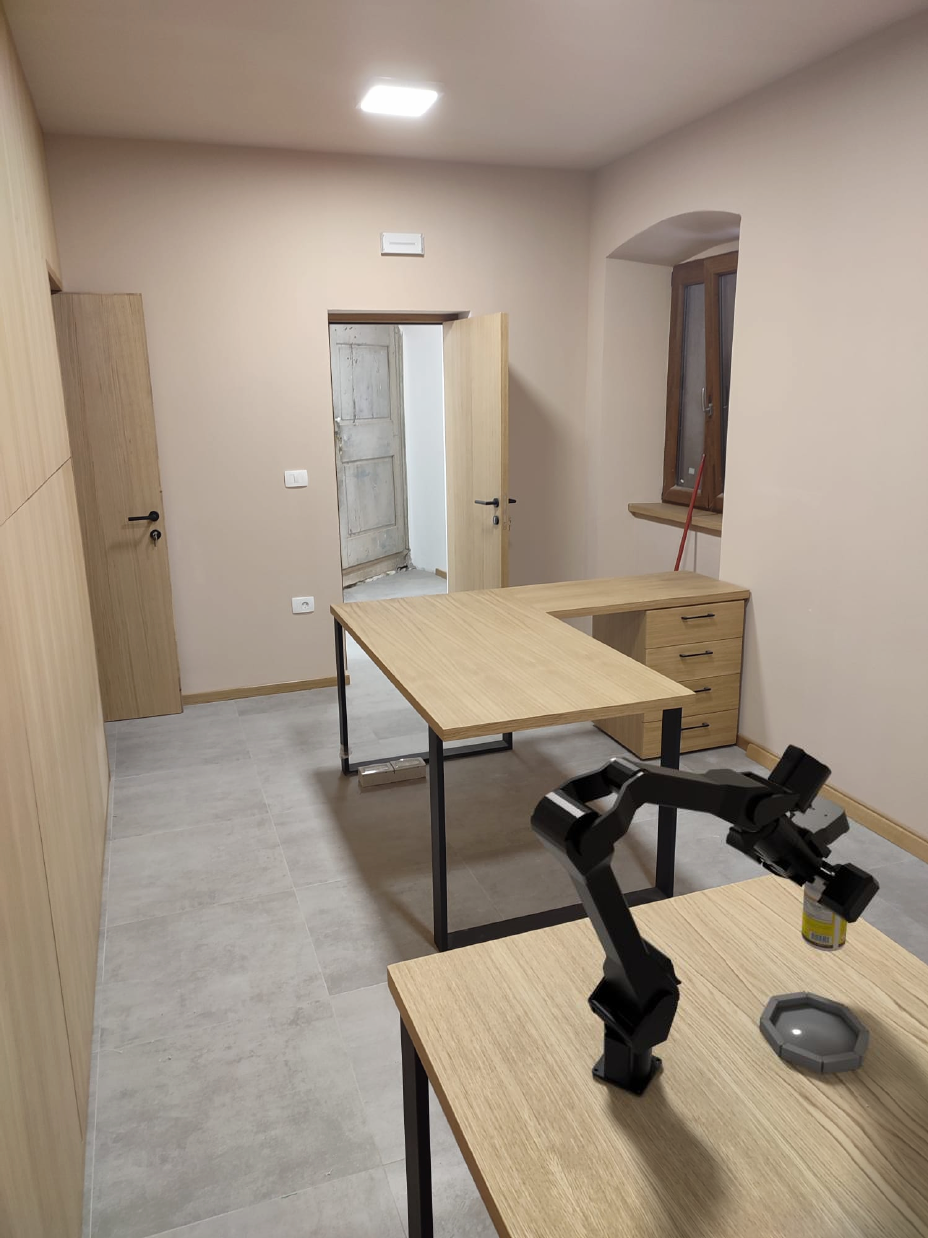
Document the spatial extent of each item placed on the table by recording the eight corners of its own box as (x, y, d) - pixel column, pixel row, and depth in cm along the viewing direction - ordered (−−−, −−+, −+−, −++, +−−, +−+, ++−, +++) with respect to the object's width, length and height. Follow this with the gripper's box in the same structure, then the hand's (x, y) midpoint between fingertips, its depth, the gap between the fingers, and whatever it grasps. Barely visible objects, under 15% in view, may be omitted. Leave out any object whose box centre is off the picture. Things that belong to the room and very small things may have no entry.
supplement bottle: (831, 927, 119) (837, 860, 117) (853, 952, 114) (859, 882, 112) (793, 931, 119) (797, 863, 117) (813, 955, 114) (818, 885, 111)
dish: (853, 1087, 100) (855, 1076, 100) (750, 1045, 107) (751, 1035, 107) (874, 1026, 110) (875, 1015, 109) (778, 991, 117) (778, 981, 116)
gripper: (876, 818, 101) (930, 879, 108) (761, 760, 117) (814, 817, 125) (821, 894, 100) (879, 952, 107) (712, 825, 116) (769, 879, 123)
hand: (833, 894), depth 116 cm, fingers closed on supplement bottle, 5 cm apart
